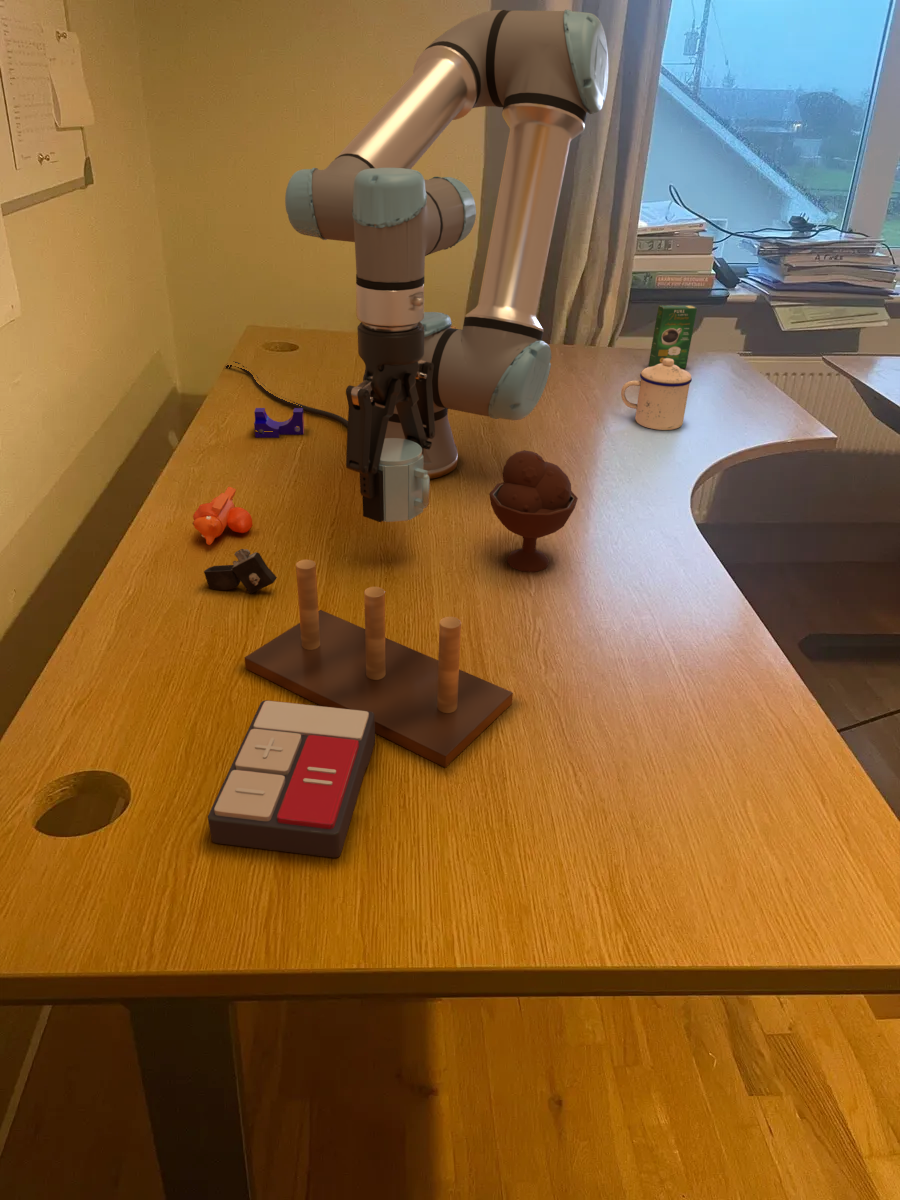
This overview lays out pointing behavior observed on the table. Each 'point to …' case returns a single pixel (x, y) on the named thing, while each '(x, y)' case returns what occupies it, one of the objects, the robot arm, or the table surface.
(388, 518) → the blue cup
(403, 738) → the peg rack
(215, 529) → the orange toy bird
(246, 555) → the lighter
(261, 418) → the cable holder
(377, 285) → the robot arm
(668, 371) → the teacup with lid
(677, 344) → the coffee box
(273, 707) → the calculator
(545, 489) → the ice cream bowl
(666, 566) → the table surface
